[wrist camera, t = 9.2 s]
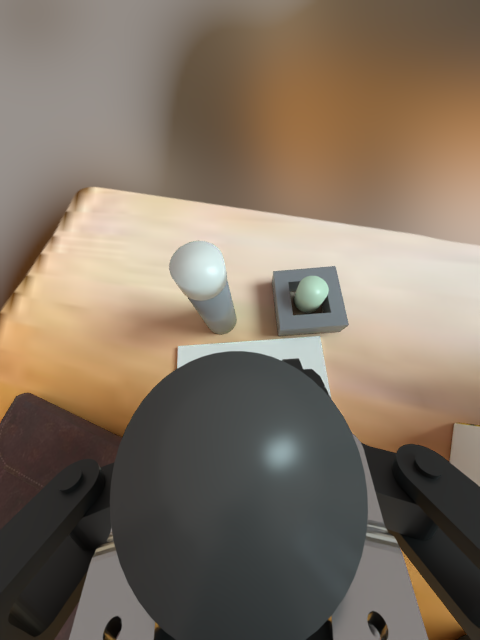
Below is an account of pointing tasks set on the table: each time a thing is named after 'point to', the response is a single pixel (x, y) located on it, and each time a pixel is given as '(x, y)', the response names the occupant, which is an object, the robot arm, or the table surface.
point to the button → (310, 293)
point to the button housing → (308, 323)
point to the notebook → (45, 455)
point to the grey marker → (205, 283)
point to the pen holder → (464, 638)
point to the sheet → (266, 352)
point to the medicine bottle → (466, 450)
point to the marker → (238, 501)
